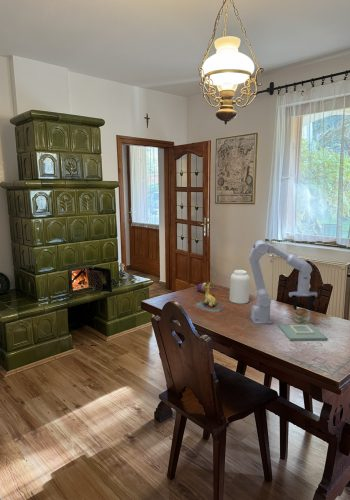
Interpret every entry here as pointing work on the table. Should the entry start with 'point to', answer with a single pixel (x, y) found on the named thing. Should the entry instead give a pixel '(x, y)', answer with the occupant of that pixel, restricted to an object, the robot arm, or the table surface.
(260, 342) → the table surface
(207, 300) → the yellow giraffe figurine
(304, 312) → the block stack
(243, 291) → the white jar
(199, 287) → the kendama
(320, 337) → the plate
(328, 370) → the table surface
